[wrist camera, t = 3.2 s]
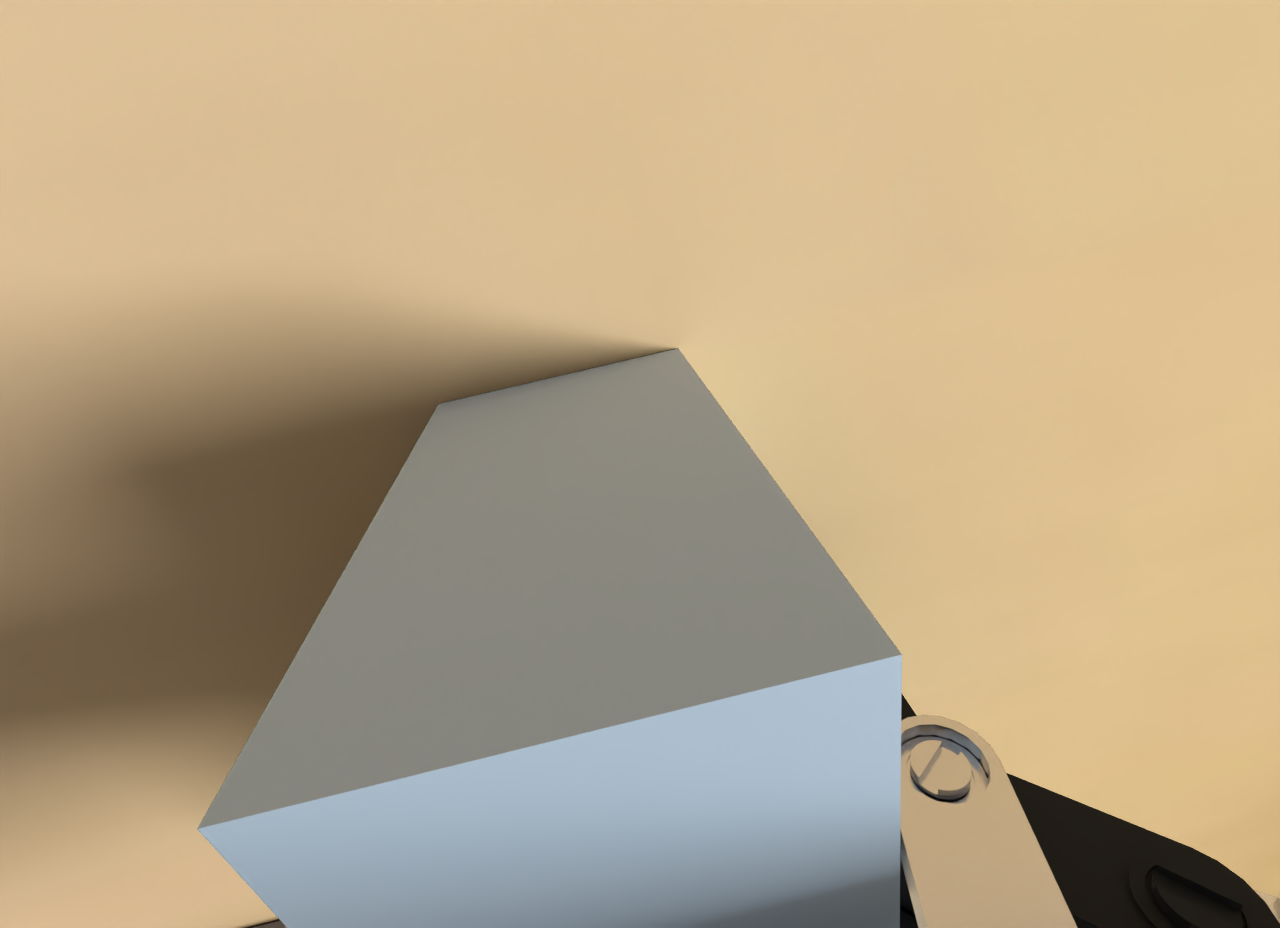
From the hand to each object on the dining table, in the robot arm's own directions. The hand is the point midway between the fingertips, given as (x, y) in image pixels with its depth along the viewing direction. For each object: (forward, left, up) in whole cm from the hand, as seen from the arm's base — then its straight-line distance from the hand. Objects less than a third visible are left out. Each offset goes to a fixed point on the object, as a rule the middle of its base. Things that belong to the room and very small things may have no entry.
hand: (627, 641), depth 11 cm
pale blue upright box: (0, 0, -1) cm, 1 cm away
